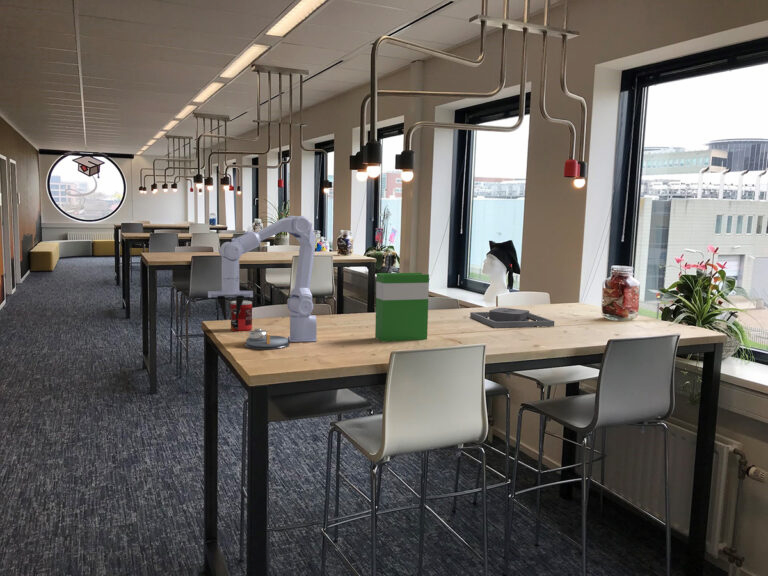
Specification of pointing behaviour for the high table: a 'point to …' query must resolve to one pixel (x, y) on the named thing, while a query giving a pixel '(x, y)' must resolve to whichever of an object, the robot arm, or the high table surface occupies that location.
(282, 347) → the turntable base
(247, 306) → the canned food
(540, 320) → the black tray rim
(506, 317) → the streaming box
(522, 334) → the high table surface
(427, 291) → the green cereal box
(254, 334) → the cover
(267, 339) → the turntable
